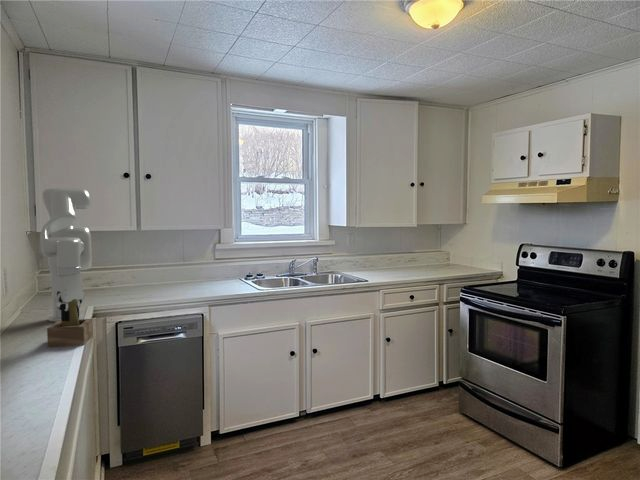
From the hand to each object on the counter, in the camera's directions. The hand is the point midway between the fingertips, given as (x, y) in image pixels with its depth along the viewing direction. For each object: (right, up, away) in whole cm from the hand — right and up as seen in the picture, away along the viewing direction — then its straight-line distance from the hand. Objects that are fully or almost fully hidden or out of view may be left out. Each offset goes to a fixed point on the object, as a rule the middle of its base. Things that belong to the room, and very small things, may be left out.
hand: (70, 319), depth 165 cm
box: (0, -9, 0) cm, 9 cm away
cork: (0, -3, 0) cm, 3 cm away
